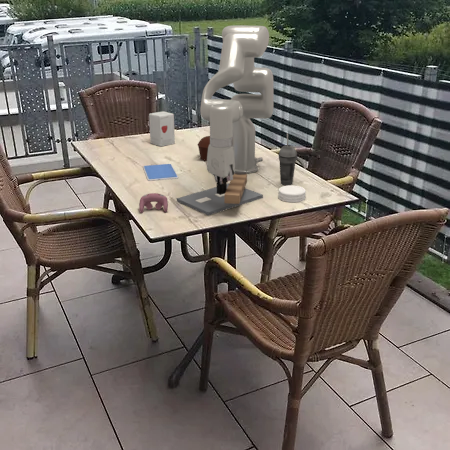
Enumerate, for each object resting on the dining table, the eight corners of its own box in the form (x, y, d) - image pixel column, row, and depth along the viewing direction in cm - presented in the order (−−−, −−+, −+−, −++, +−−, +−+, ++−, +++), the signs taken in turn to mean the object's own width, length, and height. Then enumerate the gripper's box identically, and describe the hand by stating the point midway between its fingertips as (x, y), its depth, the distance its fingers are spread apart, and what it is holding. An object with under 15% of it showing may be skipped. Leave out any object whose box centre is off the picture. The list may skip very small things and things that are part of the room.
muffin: (192, 158, 252) (192, 136, 248) (211, 153, 259) (210, 132, 255) (209, 163, 244) (209, 141, 240) (228, 158, 250) (228, 137, 247)
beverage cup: (281, 187, 214) (283, 136, 206) (274, 181, 221) (276, 132, 213) (298, 185, 216) (301, 135, 208) (291, 180, 223) (294, 131, 215)
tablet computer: (178, 179, 225) (178, 176, 225) (147, 182, 223) (147, 179, 222) (171, 166, 243) (171, 163, 242) (142, 168, 240) (142, 165, 239)
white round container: (310, 197, 205) (311, 188, 203) (295, 205, 198) (295, 195, 196) (288, 191, 211) (288, 183, 209) (272, 198, 204) (272, 189, 203)
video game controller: (168, 213, 195) (168, 193, 195) (167, 212, 190) (167, 191, 191) (140, 214, 194) (139, 194, 195) (138, 212, 190) (138, 192, 190)
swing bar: (234, 178, 211) (234, 171, 209) (247, 179, 210) (247, 171, 209) (224, 203, 187) (224, 194, 186) (239, 203, 186) (239, 195, 185)
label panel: (230, 185, 217) (230, 175, 215) (262, 197, 204) (263, 186, 203) (176, 201, 201) (176, 190, 199) (208, 215, 189) (208, 203, 187)
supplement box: (160, 147, 270) (159, 116, 264) (150, 143, 276) (148, 113, 270) (175, 143, 275) (174, 113, 269) (164, 140, 281) (163, 110, 276)
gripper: (198, 139, 189) (199, 190, 196) (227, 148, 178) (227, 201, 186) (215, 135, 193) (216, 185, 201) (244, 144, 183) (244, 196, 190)
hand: (221, 193), depth 193 cm, fingers closed
